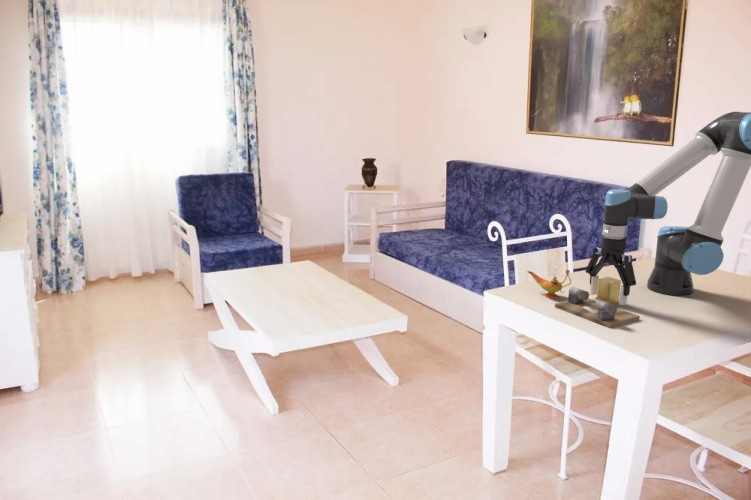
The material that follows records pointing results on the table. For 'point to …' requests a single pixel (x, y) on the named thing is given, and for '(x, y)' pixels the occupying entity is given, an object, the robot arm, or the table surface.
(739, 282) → the table surface
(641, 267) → the table surface
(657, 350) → the table surface
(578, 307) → the shaft bench
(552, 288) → the magic lamp
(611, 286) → the block
